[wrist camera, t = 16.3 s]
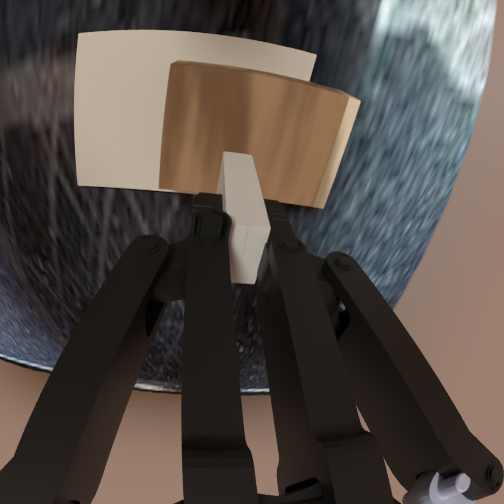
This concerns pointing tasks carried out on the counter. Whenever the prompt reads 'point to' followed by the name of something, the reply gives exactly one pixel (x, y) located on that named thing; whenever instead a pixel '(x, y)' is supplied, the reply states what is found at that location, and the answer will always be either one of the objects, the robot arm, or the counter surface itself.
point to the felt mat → (148, 95)
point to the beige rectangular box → (253, 130)
